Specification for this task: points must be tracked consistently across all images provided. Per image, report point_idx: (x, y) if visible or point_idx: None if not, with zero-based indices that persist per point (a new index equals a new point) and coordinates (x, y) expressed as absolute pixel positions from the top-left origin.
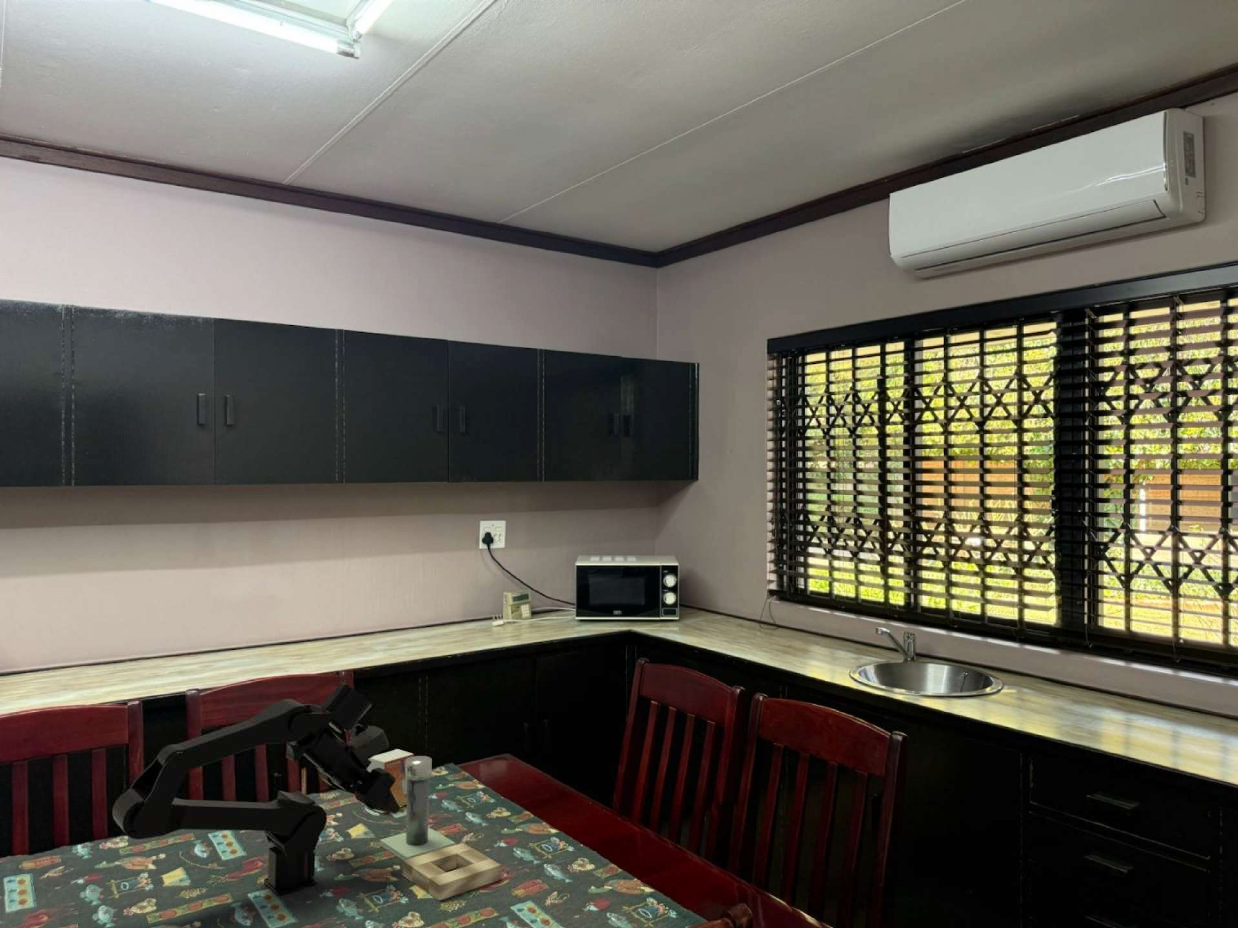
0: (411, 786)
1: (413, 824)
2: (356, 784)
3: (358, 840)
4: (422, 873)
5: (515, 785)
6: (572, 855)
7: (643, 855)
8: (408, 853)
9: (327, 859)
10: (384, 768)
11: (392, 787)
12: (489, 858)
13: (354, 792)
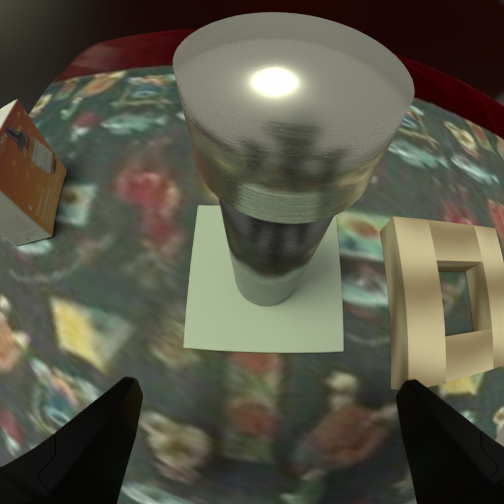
0: (311, 228)
1: (294, 284)
2: (94, 498)
3: (124, 369)
4: (475, 374)
5: (159, 49)
6: (437, 123)
7: (452, 93)
8: (324, 336)
9: (181, 482)
10: None
11: (29, 187)
12: (473, 226)
13: (116, 492)
